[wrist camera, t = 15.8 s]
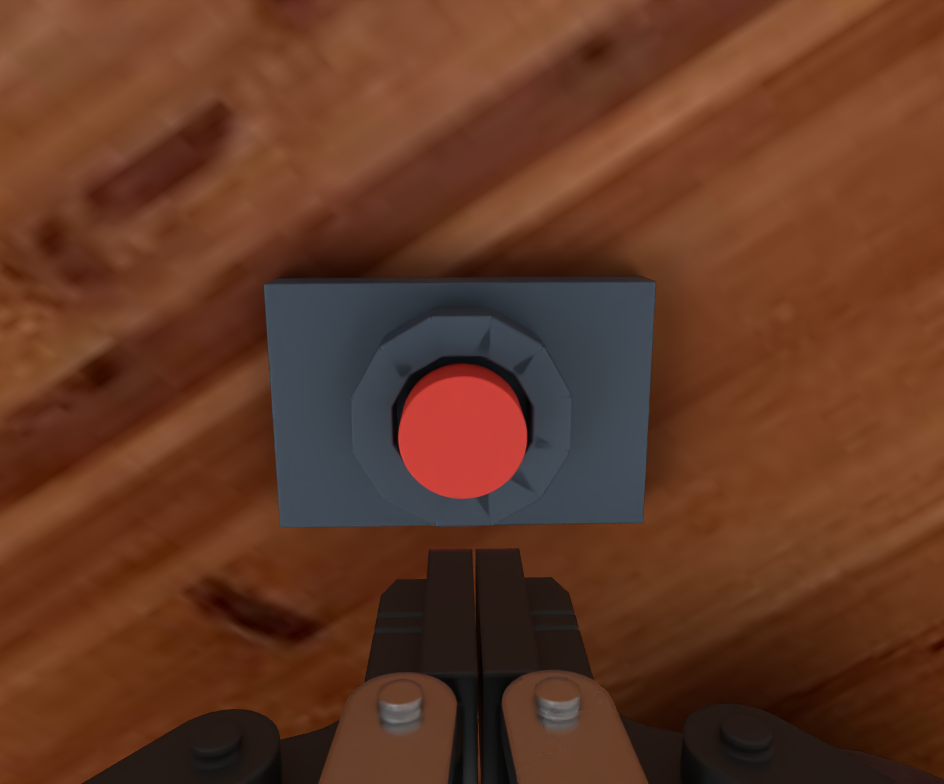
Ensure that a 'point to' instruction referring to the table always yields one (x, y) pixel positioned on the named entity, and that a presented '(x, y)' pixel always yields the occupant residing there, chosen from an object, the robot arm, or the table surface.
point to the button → (462, 431)
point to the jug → (894, 769)
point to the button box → (448, 342)
